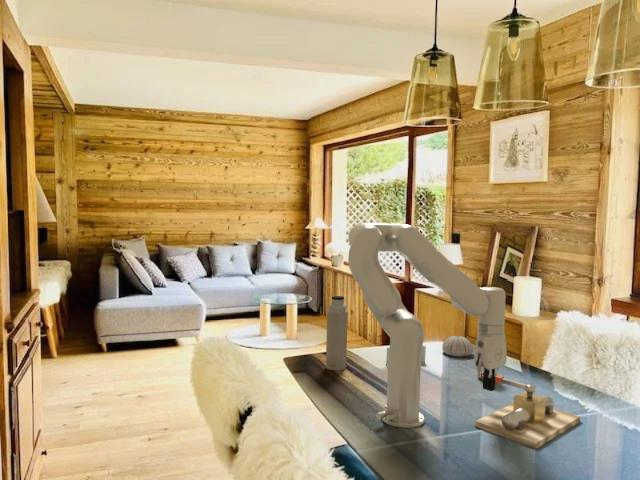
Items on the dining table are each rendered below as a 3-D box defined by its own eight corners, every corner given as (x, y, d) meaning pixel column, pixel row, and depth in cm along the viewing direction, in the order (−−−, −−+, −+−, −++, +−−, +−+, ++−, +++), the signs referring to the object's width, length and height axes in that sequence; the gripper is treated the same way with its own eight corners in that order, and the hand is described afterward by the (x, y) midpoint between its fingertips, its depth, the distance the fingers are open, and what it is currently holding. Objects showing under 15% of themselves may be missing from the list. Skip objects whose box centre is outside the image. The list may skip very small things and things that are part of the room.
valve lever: (536, 391, 148) (537, 385, 148) (532, 393, 146) (532, 387, 146) (488, 377, 160) (489, 372, 159) (484, 379, 158) (484, 373, 158)
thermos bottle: (321, 367, 198) (323, 296, 196) (333, 363, 204) (335, 294, 203) (338, 371, 193) (340, 298, 192) (350, 366, 200) (351, 296, 198)
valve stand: (536, 448, 133) (537, 413, 132) (474, 426, 146) (476, 394, 146) (580, 421, 151) (581, 390, 151) (522, 403, 165) (523, 375, 164)
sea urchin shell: (441, 356, 218) (441, 338, 217) (442, 348, 231) (442, 331, 230) (473, 359, 214) (474, 341, 214) (472, 351, 227) (473, 333, 227)
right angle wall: (386, 365, 204) (386, 347, 204) (397, 358, 215) (398, 341, 214) (414, 371, 198) (415, 352, 198) (425, 363, 208) (425, 345, 208)
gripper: (487, 334, 143) (484, 398, 144) (516, 328, 153) (514, 388, 154) (464, 329, 149) (462, 390, 150) (494, 323, 158) (492, 381, 159)
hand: (488, 389), depth 152 cm, fingers closed
